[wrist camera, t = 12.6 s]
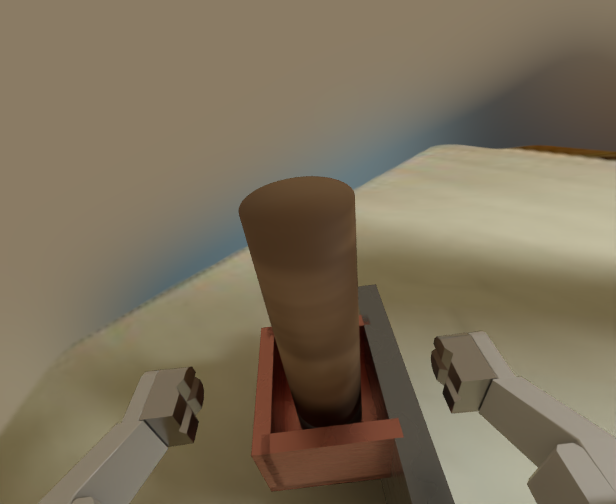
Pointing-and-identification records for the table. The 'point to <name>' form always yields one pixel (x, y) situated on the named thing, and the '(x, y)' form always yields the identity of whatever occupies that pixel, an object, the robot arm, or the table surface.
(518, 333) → the table surface
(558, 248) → the table surface
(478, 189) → the table surface
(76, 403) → the table surface
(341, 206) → the brown cylinder
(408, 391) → the drawer
